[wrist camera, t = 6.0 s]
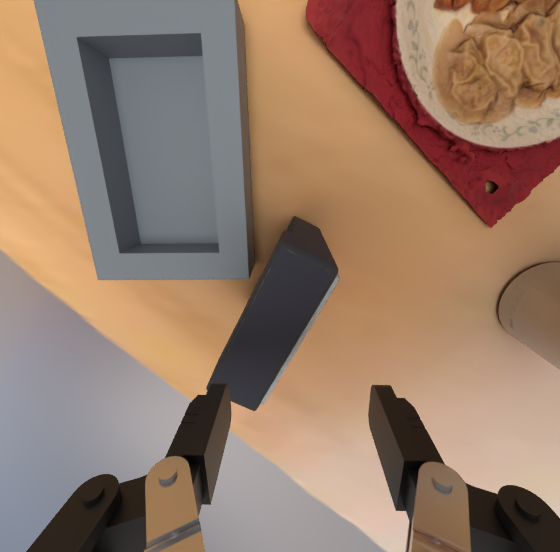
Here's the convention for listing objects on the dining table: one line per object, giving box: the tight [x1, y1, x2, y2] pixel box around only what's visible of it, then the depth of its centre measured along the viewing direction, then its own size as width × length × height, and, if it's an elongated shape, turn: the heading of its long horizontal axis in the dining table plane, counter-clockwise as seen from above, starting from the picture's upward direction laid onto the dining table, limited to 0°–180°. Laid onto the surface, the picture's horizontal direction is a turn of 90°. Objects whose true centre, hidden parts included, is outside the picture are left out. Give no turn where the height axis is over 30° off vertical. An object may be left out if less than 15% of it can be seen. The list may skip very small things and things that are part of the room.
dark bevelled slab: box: [207, 216, 339, 411], centre depth 24 cm, size 11×4×15 cm, turn 153°
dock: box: [34, 0, 255, 280], centre depth 26 cm, size 14×21×5 cm, turn 1°
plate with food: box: [306, 0, 560, 228], centre depth 22 cm, size 24×26×3 cm
